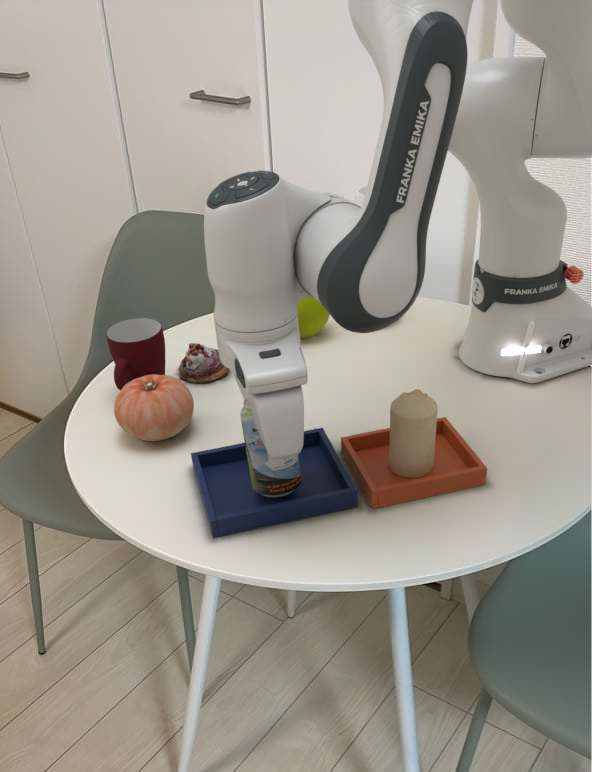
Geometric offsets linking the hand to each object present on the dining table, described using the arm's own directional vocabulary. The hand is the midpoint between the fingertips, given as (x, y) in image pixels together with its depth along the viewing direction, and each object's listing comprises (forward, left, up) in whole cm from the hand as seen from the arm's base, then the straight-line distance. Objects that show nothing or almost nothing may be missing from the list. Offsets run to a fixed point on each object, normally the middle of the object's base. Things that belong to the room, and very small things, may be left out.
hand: (269, 448), depth 90 cm
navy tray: (0, 0, -6) cm, 6 cm away
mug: (+13, -29, -6) cm, 33 cm away
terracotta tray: (-17, +2, -6) cm, 18 cm away
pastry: (+3, -33, -6) cm, 34 cm away
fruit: (-15, -40, -6) cm, 43 cm away
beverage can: (0, +1, -5) cm, 5 cm away
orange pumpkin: (+12, -18, -6) cm, 23 cm away
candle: (-17, +2, -6) cm, 18 cm away
